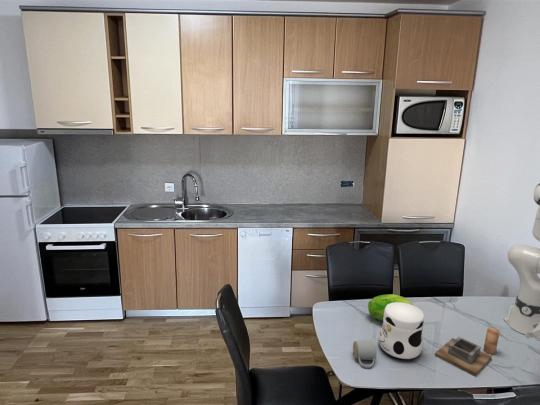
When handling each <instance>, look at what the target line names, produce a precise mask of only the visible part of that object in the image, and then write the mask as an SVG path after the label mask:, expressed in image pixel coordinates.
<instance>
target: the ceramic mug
mask: <svg viewBox="0 0 540 405" xmlns="http://www.w3.org/2000/svg"><path fill="white" fill-rule="evenodd" d="M352 343H353V344H352V352H353V355H354V358H355V359H356V360H358V363H359V364H360V366H361V367H363V368H365V369H371V368H372V367H373V366H374V364H375V361H376V359H377V357H378V356H377V345H376V342H375V340H374V339H360V340H359V339H357V340H354V342H352ZM362 360H363V361H364V360H365V361H372V363H371V364H370V365H366V364H364V363H363V362H362Z"/></svg>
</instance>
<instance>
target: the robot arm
mask: <svg viewBox="0 0 540 405" xmlns="http://www.w3.org/2000/svg"><path fill="white" fill-rule="evenodd" d="M533 201H534V202H535V203H536V205H538V208H537V211H536V214H535V220H534V223H533V226H532V236H533V238H534V239H536V240H537V241H538V242H539V243H540V182H539V183H538V184H537V185H536V186H535V188H534V191H533ZM507 259H508V262H509V264H510V265H511V266H512V267H513V268H514V269H515V271H516V273H517V275H518V278H519V287H518V288H519V289H518V293H517V296H516V298H515V302H514V304H512V305H510V307H509V311H508V314H507V315H506V316H504V317H503V321H504V322H506V323H507V324H508V326H509V327H510V328H511V329H513V330H514V331H516V332H518V333H520V334H523V335H524V336H525V338H526V339H531V338H535V340H536V341H538V342H540V277H539V275H540V248H539V247H534V246H530V245H525V244H515V245H513V246H512V247H511V248H509V250H508V251H507Z"/></svg>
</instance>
